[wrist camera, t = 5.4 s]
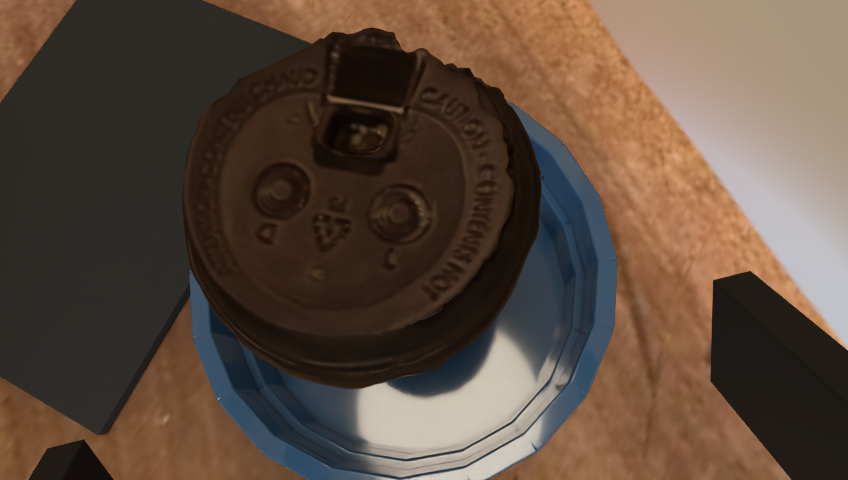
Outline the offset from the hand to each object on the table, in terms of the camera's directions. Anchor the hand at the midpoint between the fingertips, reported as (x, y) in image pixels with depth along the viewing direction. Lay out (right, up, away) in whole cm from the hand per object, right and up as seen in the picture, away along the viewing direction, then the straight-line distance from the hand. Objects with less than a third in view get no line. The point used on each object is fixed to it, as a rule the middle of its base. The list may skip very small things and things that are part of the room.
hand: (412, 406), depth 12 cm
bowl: (0, +1, +13) cm, 13 cm away
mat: (-15, +7, +15) cm, 23 cm away
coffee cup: (0, +1, +12) cm, 13 cm away
